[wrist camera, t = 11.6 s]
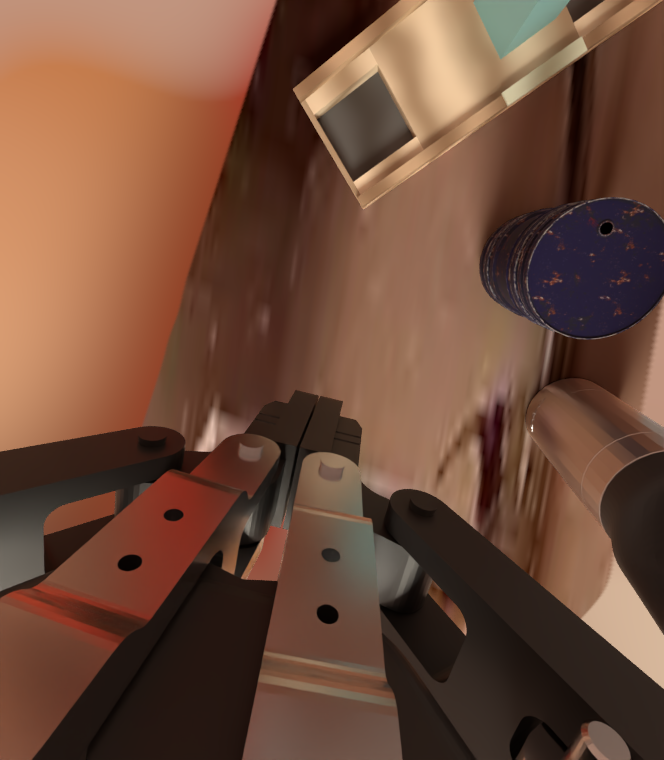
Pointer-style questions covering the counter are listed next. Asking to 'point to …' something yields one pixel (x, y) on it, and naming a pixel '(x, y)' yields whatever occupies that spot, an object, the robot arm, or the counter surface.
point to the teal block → (516, 20)
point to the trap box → (437, 82)
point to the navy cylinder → (579, 266)
